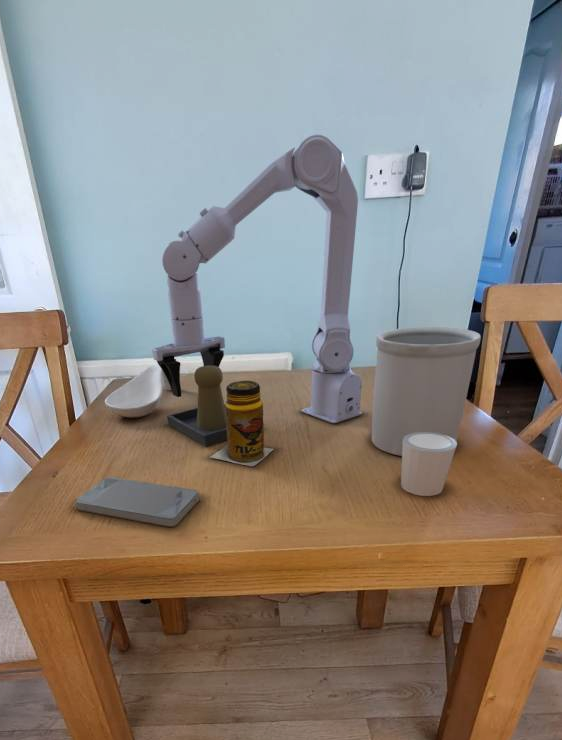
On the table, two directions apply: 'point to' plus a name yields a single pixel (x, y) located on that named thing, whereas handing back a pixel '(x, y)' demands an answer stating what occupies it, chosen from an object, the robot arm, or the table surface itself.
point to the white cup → (426, 462)
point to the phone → (139, 501)
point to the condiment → (244, 425)
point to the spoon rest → (139, 394)
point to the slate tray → (195, 428)
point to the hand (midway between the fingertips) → (194, 391)
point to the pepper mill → (210, 398)
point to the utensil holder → (421, 383)
